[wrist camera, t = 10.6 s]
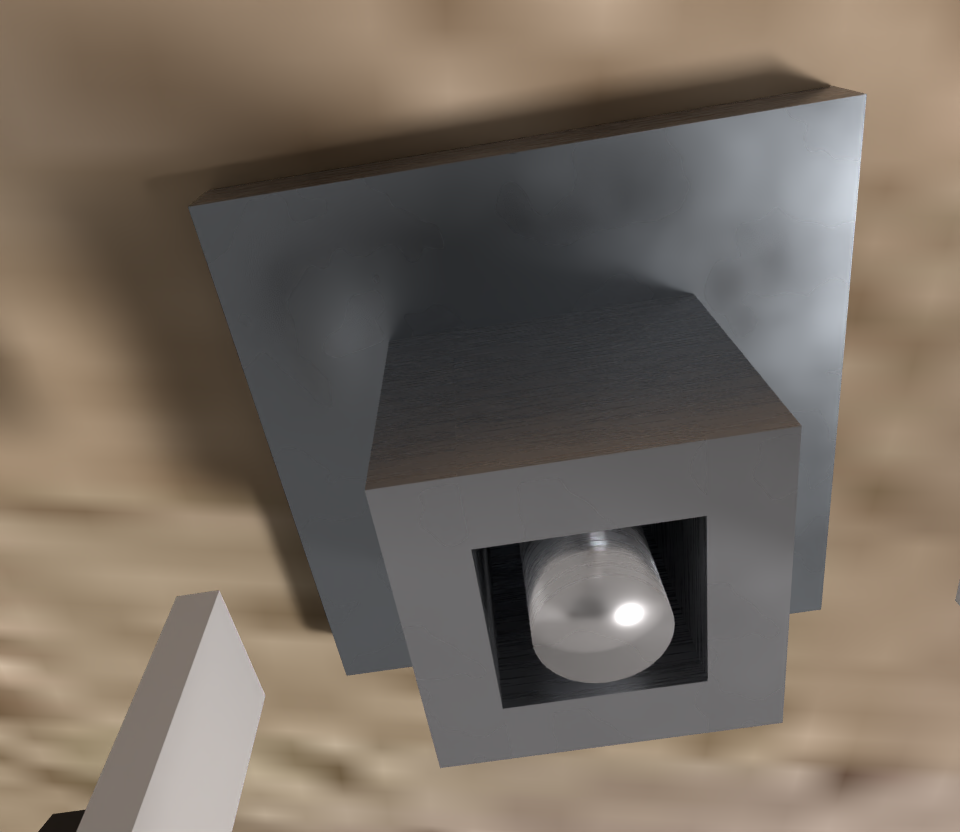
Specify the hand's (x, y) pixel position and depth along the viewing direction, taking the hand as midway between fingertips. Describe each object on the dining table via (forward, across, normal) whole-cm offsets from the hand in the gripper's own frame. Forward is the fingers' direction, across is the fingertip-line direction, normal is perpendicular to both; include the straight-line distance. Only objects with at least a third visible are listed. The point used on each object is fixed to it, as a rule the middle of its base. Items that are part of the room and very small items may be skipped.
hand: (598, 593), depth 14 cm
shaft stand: (+8, 0, -1) cm, 8 cm away
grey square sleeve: (+6, 0, -1) cm, 6 cm away
